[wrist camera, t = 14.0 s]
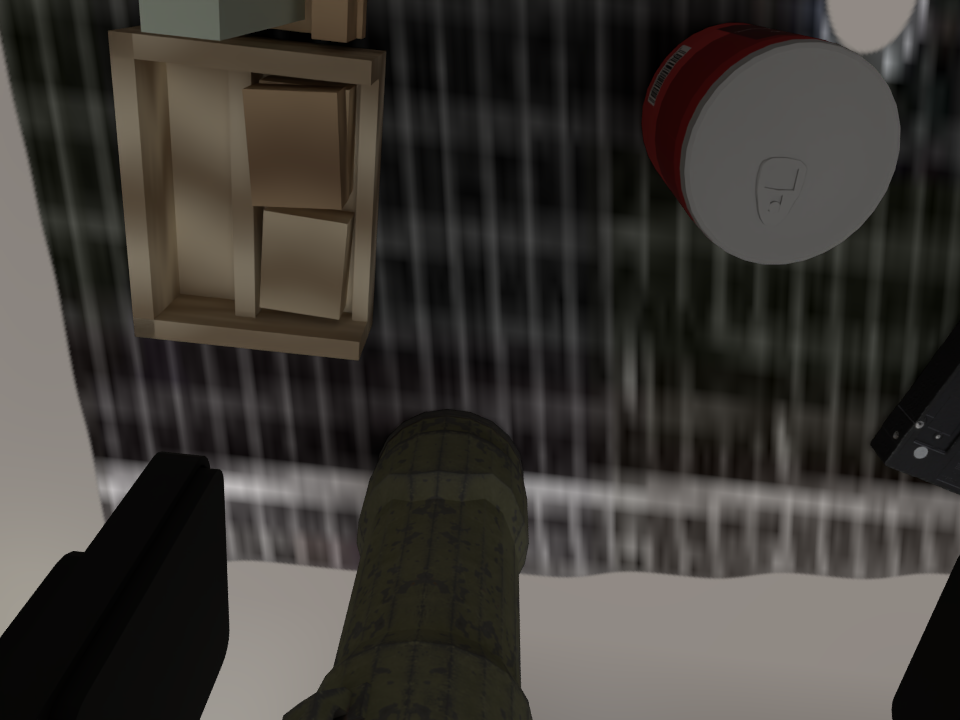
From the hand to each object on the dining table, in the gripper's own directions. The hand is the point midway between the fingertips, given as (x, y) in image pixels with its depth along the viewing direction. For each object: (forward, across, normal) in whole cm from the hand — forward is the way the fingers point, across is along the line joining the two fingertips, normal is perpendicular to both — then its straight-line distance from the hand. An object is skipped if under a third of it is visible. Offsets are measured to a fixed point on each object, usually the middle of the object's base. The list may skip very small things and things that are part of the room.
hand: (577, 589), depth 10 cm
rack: (+32, +12, +4) cm, 35 cm away
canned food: (+32, -9, -2) cm, 34 cm away
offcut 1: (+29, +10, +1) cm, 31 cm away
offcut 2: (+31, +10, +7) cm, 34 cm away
